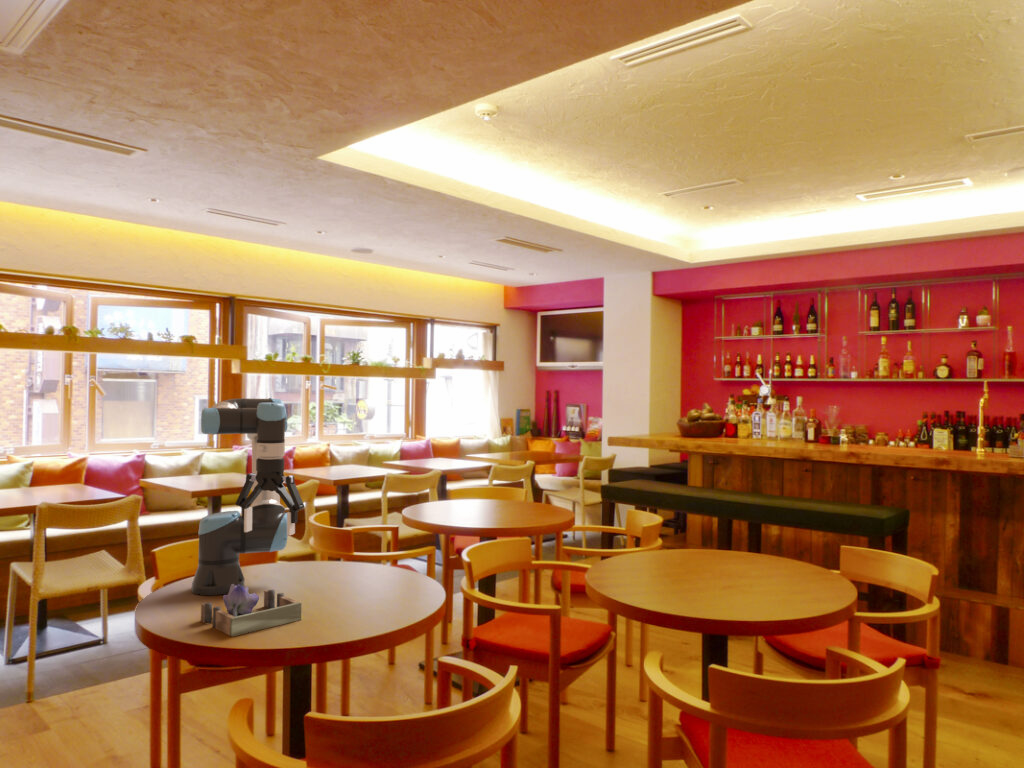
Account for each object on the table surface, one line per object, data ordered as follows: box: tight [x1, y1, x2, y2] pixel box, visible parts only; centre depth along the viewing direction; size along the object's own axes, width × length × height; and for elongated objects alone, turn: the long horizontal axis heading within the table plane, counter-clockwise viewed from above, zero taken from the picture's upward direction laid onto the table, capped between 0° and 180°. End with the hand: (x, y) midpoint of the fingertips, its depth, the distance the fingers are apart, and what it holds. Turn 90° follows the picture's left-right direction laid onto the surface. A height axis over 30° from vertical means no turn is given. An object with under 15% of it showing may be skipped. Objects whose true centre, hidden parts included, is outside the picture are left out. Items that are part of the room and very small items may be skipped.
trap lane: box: [200, 589, 302, 638], centre depth 188 cm, size 18×20×5 cm
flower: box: [222, 584, 260, 617], centre depth 192 cm, size 9×9×10 cm
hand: (269, 533), depth 199 cm, fingers open, 13 cm apart
